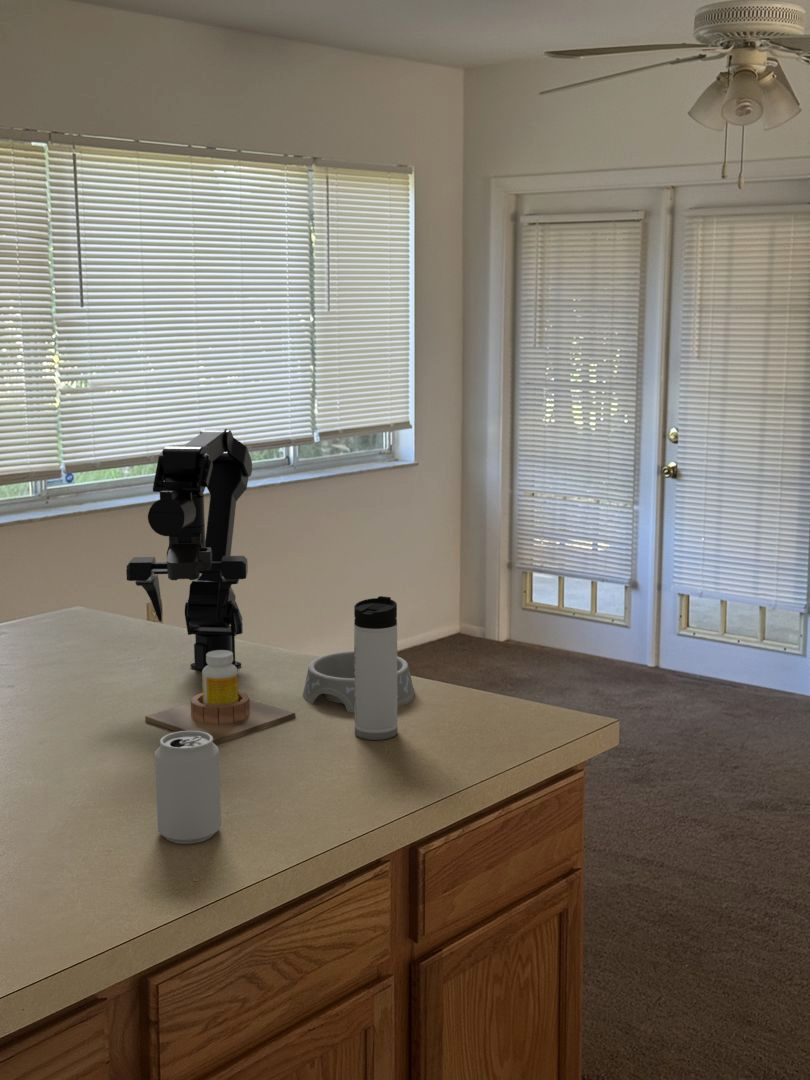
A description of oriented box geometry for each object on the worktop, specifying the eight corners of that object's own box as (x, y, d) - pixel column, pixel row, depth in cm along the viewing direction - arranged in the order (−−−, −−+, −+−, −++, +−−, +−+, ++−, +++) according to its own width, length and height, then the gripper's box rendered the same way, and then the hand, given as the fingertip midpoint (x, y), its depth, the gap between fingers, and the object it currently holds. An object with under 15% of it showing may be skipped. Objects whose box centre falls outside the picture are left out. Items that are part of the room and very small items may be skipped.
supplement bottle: (196, 713, 191) (194, 652, 189) (227, 706, 194) (225, 646, 193) (214, 722, 187) (213, 660, 185) (245, 715, 190) (244, 653, 188)
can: (161, 821, 153) (157, 728, 151) (223, 819, 154) (220, 726, 152) (154, 847, 146) (150, 749, 144) (219, 845, 146) (216, 747, 144)
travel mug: (405, 729, 186) (405, 598, 183) (385, 743, 181) (385, 608, 177) (367, 723, 189) (366, 594, 185) (347, 736, 183) (346, 603, 179)
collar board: (225, 696, 202) (225, 676, 201) (295, 717, 192) (295, 697, 191) (145, 721, 190) (144, 700, 189) (215, 745, 180) (214, 723, 179)
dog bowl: (379, 719, 192) (379, 686, 191) (281, 701, 201) (280, 668, 200) (433, 690, 206) (433, 659, 205) (340, 674, 215) (339, 643, 214)
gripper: (119, 534, 191) (123, 634, 193) (242, 533, 192) (245, 632, 195) (129, 522, 201) (133, 616, 204) (246, 521, 203) (248, 614, 206)
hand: (189, 620), depth 202 cm, fingers open, 9 cm apart
